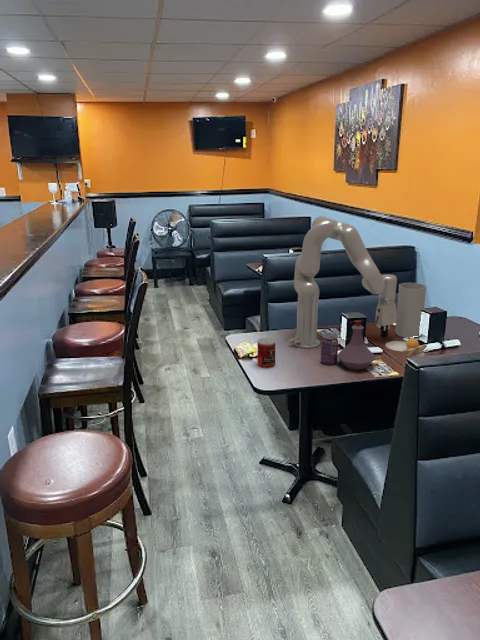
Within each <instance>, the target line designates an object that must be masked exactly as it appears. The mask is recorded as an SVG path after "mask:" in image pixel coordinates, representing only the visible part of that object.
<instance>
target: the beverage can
mask: <svg viewBox="0 0 480 640" xmlns="http://www.w3.org/2000/svg"><path fill="white" fill-rule="evenodd" d="M320 345H321V347H320V349H321V350H320V362H321V363H323V364H325V365H334V364H336V363H337V362H338V357H337V355H338V354H339V352H338V351H339V339H338V335H336V334H333V333H325V334H323V335H322V338H321V341H320Z"/></svg>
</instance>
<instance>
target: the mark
mask: <svg viewBox="0 0 480 640" xmlns="http://www.w3.org/2000/svg"><path fill="white" fill-rule="evenodd" d="M406 342H407V341H401V340H400V341H399V340H392V341H388V342H386V343H385V347H386V348H387V349H389V350H391V351H394V352H395V351H396V352H402V353H403V351H404V350H407V349H408V348H407V346H406Z"/></svg>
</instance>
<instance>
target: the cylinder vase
mask: <svg viewBox="0 0 480 640" xmlns="http://www.w3.org/2000/svg"><path fill="white" fill-rule="evenodd" d="M426 296H427V286H426V285H425V284H422V283H418V282H403V283H400V284H398V293H397V303H396V308H397V319H396V322H395V328H394V329H395V330H394V332H395V335H396V336H398V337H400V338H405V339H407V338H406V337H413V336H418V334H419V326H420V315H421V310H422V309H424V310H425V305H426V304H425V303H426Z"/></svg>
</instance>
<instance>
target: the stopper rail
mask: <svg viewBox="0 0 480 640" xmlns="http://www.w3.org/2000/svg"><path fill="white" fill-rule="evenodd" d="M426 347H427V348H428V344H425V343H423V344H422V345H419V346H417V347H414V348H411V349H407V350H404V351H403V352H402V356H403V357H404V358H406V357H410V356H413V355H416V354H417V355H418V354H420V353H422V351H423V350H424V349H425V348H426ZM423 352H424V351H423Z"/></svg>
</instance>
